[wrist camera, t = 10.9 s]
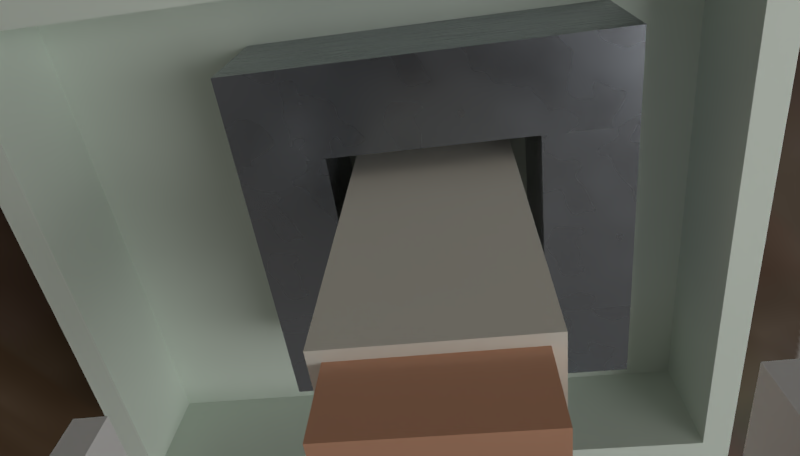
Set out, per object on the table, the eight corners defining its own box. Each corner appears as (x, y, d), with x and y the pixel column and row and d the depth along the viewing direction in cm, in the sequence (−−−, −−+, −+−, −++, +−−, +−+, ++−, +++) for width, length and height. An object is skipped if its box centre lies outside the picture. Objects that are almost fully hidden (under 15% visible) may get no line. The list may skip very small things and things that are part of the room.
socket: (316, 325, 27) (299, 391, 23) (247, 45, 21) (210, 78, 18) (600, 302, 26) (626, 369, 22) (608, -1, 20) (646, 24, 16)
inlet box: (183, 404, 31) (142, 490, 26) (8, -20, 21) (-101, 5, 17) (681, 370, 28) (726, 459, 24) (737, -127, 19) (830, -130, 14)
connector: (383, 249, 25) (336, 607, 13) (362, 132, 22) (281, 432, 10) (509, 238, 24) (588, 599, 12) (502, 116, 22) (592, 412, 10)
